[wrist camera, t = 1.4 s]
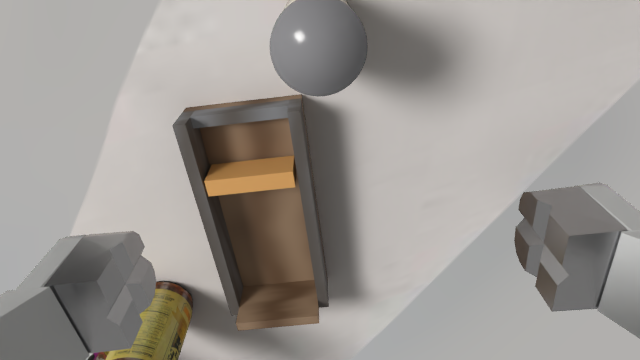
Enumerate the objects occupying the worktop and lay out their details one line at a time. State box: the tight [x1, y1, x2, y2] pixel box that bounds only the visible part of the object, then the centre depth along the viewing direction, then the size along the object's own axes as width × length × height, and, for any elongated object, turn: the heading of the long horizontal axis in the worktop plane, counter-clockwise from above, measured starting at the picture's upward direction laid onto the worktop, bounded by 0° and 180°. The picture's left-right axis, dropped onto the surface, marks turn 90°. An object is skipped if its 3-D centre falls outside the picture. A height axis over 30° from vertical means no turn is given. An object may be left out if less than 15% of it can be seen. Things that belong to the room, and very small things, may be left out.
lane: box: [173, 95, 329, 331], centre depth 38 cm, size 10×21×6 cm, turn 7°
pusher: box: [204, 156, 297, 196], centre depth 36 cm, size 7×2×3 cm, turn 97°
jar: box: [270, 0, 367, 96], centre depth 29 cm, size 6×6×9 cm
